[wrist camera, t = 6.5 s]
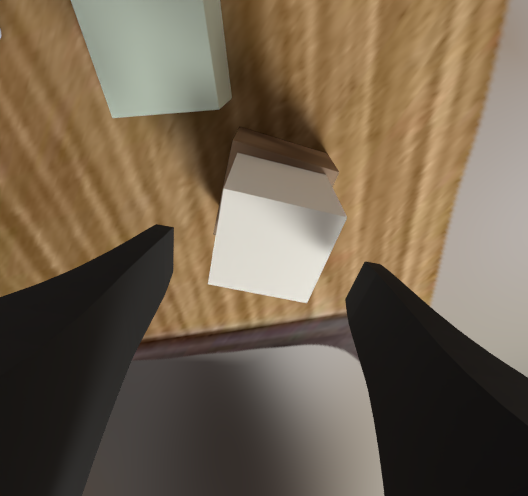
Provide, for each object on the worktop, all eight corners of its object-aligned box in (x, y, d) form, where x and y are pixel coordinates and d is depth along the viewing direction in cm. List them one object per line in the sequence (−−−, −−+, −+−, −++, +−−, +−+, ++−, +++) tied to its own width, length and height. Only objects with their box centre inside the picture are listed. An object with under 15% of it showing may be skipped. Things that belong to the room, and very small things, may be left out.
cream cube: (223, 231, 17) (207, 284, 13) (237, 152, 14) (223, 188, 10) (298, 247, 18) (306, 303, 13) (326, 175, 15) (346, 217, 11)
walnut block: (222, 207, 21) (213, 234, 17) (240, 125, 17) (232, 140, 14) (296, 227, 21) (301, 256, 18) (326, 152, 18) (339, 172, 15)
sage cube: (151, 104, 17) (112, 117, 12) (121, -6, 14) (58, -35, 10) (232, 98, 16) (219, 109, 12) (218, -16, 13) (195, -51, 9)
